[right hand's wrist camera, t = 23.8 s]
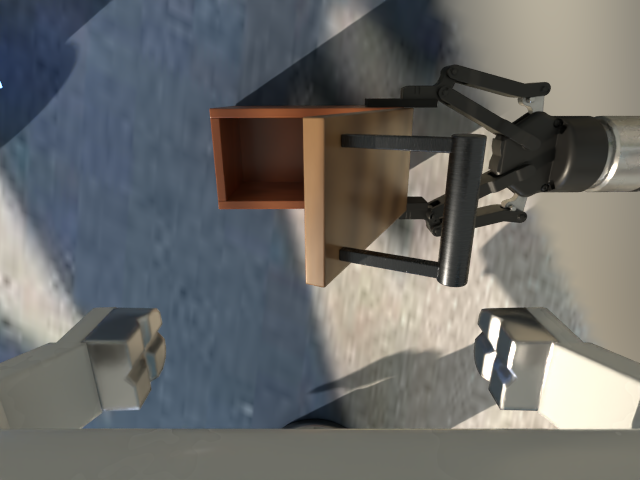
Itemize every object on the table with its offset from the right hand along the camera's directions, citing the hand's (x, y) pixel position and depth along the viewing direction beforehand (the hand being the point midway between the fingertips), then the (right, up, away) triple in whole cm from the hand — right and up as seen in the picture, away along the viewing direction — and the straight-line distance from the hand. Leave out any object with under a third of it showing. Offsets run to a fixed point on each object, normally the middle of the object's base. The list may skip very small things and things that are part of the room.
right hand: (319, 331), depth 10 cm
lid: (+3, +7, +19) cm, 21 cm away
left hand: (+4, +11, +30) cm, 32 cm away
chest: (-1, +13, +36) cm, 39 cm away
